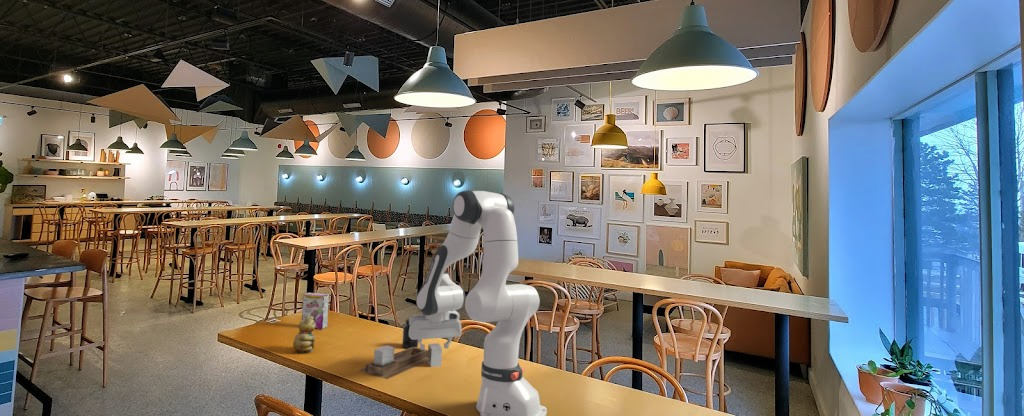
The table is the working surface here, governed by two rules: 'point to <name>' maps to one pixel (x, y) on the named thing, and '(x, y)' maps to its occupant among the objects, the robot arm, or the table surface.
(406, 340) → the supplement bottle
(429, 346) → the block
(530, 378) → the table surface
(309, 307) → the candy bar box
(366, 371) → the brown wooden tray
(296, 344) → the decorative figurine
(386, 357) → the block
